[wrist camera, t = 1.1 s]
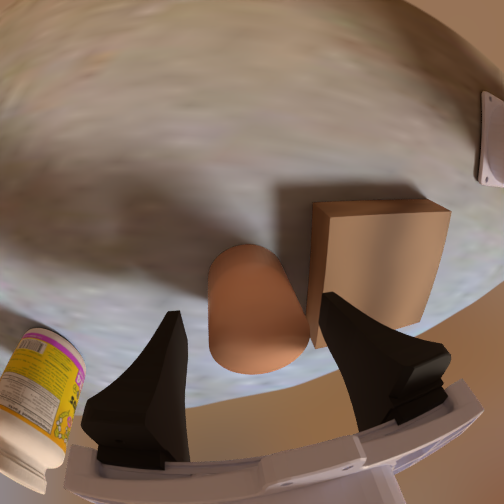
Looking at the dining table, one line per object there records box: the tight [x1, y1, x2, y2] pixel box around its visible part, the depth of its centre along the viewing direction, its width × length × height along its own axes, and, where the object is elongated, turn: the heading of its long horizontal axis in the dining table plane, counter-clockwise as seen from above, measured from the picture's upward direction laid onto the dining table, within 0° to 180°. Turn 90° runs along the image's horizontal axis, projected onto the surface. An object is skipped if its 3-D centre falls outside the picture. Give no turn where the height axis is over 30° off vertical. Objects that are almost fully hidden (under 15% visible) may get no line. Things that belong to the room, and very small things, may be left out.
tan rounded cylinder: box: [208, 244, 310, 374], centre depth 14 cm, size 5×5×6 cm
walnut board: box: [306, 199, 452, 349], centre depth 16 cm, size 9×9×2 cm
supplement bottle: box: [0, 328, 86, 494], centre depth 12 cm, size 7×7×13 cm
